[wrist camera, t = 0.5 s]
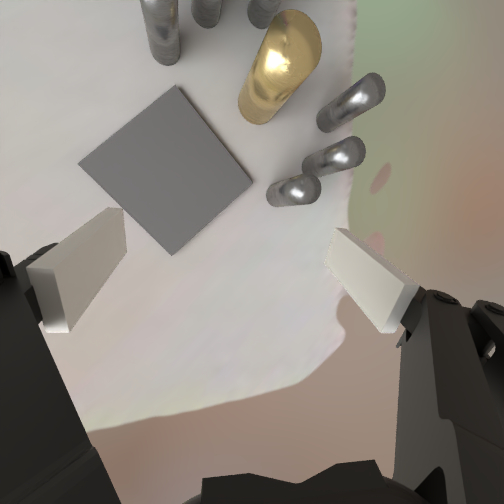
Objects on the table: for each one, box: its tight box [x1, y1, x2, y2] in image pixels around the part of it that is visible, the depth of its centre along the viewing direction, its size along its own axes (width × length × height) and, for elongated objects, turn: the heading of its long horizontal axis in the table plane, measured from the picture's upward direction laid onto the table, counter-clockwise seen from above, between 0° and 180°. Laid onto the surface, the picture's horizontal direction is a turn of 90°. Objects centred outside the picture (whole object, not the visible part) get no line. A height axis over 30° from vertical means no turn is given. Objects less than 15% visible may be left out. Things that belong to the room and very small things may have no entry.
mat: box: [78, 85, 253, 256], centre depth 33 cm, size 16×16×1 cm
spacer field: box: [140, 0, 386, 207], centre depth 31 cm, size 29×18×10 cm, turn 41°
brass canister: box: [238, 9, 322, 125], centre depth 29 cm, size 6×6×13 cm
